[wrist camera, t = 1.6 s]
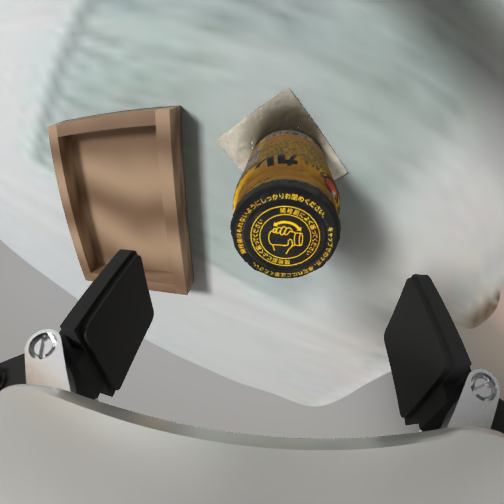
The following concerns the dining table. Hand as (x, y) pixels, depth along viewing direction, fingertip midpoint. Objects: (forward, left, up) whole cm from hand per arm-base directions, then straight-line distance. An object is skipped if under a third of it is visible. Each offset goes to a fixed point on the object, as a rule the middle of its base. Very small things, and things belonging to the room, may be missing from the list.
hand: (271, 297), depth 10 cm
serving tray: (+4, -15, -16) cm, 23 cm away
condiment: (-1, 0, -17) cm, 17 cm away
